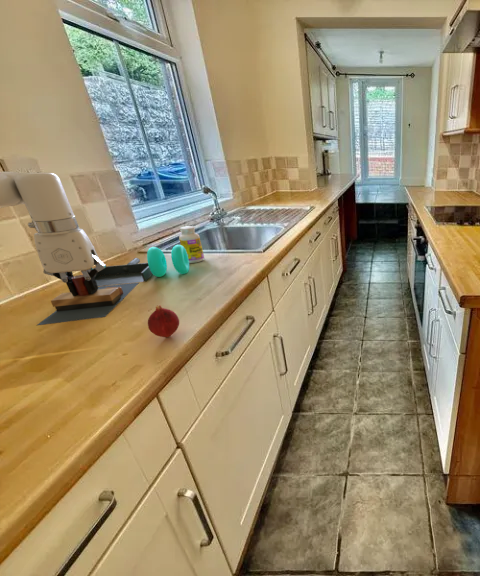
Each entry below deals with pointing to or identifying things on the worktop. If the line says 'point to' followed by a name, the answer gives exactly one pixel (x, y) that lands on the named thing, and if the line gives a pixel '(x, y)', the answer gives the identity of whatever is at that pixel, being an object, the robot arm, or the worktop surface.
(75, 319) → the mat
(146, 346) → the worktop surface
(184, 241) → the supplement bottle
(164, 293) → the worktop surface
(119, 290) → the clod
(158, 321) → the onion
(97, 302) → the wooden board with knob
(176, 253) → the donuts
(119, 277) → the dustpan
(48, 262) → the robot arm
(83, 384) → the worktop surface
